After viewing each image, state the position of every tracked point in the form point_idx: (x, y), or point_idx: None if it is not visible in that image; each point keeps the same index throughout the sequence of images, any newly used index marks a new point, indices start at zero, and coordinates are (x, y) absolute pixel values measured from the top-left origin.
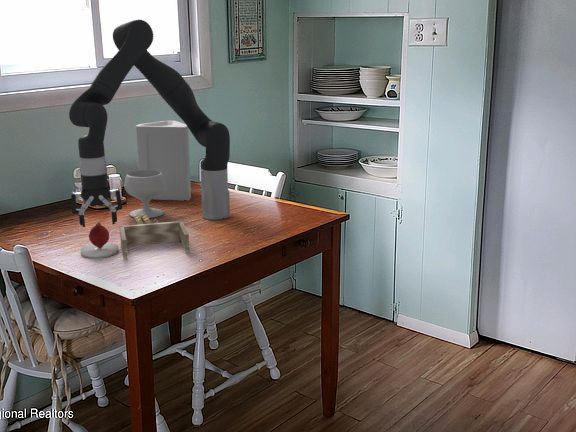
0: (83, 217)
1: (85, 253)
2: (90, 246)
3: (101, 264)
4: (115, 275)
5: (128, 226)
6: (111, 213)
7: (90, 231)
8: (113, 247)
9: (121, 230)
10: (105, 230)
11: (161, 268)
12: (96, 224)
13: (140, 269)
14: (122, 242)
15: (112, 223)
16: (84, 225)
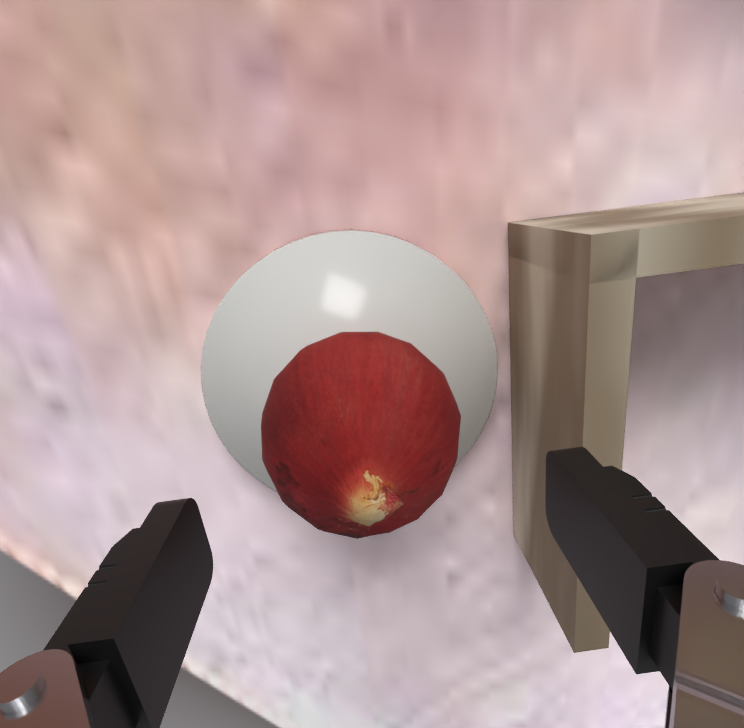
0: (159, 698)
1: (263, 483)
2: (272, 338)
3: (385, 586)
4: (465, 715)
5: (691, 267)
6: (616, 535)
7: (276, 486)
8: (459, 385)
9: (596, 407)
10: (440, 492)
11: None
12: (346, 519)
13: (591, 661)
14: (566, 633)
15: (548, 499)
16: (203, 588)
